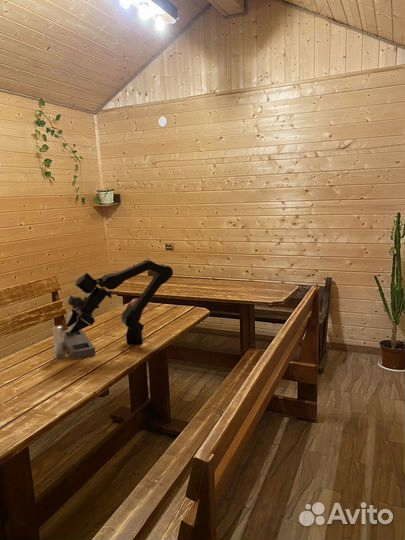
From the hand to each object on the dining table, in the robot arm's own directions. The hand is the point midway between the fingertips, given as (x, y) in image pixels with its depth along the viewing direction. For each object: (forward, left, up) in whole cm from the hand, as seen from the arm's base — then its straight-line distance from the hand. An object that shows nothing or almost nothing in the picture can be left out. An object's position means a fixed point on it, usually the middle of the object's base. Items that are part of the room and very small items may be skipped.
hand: (69, 329), depth 160 cm
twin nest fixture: (0, -10, -11) cm, 15 cm away
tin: (-20, -54, -11) cm, 58 cm away
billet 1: (+4, +2, -11) cm, 12 cm away
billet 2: (+4, -18, -11) cm, 22 cm away
